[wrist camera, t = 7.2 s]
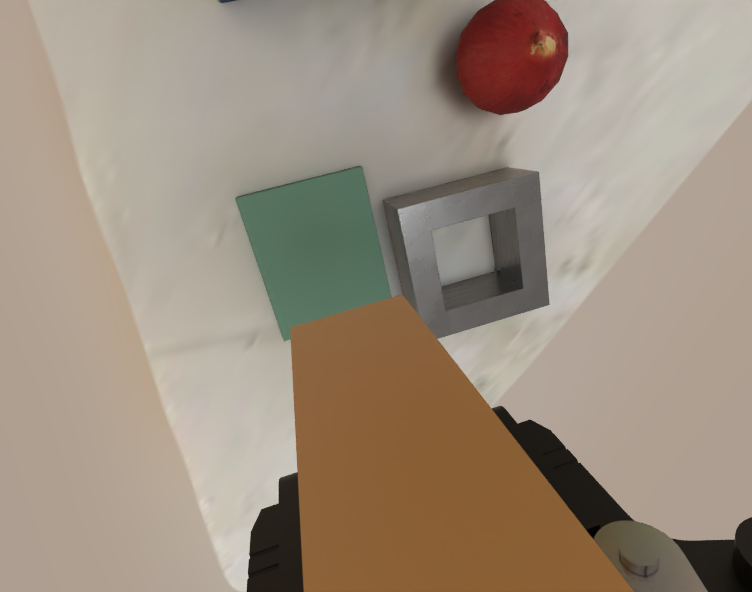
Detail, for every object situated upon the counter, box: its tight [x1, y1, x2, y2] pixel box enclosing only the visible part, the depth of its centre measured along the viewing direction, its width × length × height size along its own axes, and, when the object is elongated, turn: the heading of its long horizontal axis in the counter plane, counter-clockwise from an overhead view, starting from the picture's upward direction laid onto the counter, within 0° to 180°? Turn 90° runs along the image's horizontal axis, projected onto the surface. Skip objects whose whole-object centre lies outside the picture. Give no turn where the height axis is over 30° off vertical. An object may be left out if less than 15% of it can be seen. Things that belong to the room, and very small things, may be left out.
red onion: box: [456, 0, 568, 115], centre depth 24 cm, size 6×6×8 cm
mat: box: [236, 166, 392, 341], centre depth 30 cm, size 10×8×1 cm
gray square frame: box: [383, 167, 549, 339], centre depth 30 cm, size 9×9×4 cm
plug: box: [290, 295, 634, 592], centre depth 10 cm, size 4×4×13 cm
